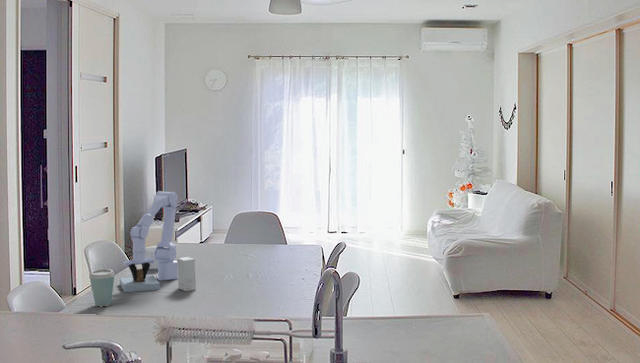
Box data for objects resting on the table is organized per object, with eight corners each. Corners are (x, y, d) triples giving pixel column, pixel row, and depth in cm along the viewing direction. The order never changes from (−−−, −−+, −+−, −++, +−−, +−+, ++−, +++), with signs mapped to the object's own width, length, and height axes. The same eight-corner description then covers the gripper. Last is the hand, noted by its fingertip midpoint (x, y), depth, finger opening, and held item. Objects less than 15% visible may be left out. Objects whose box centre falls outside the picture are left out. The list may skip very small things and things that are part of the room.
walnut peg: (141, 282, 327) (141, 268, 327) (144, 284, 324) (144, 269, 324) (133, 283, 325) (133, 269, 325) (136, 285, 322) (136, 270, 321)
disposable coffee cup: (112, 308, 287) (111, 273, 286) (86, 308, 286) (85, 273, 285) (117, 301, 298) (117, 268, 296) (92, 302, 297) (92, 268, 296)
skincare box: (196, 290, 320) (195, 259, 319) (183, 291, 317) (183, 260, 315) (189, 286, 327) (189, 256, 326) (177, 288, 324) (177, 257, 322)
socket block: (153, 281, 335) (153, 275, 335) (159, 289, 321) (159, 283, 320) (119, 284, 329) (119, 278, 328) (124, 292, 314) (124, 285, 314)
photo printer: (164, 267, 367) (164, 245, 366) (164, 269, 363) (164, 246, 361) (145, 268, 365) (145, 245, 364) (144, 269, 361) (144, 247, 360)
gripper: (150, 248, 331) (150, 275, 332) (121, 251, 322) (121, 279, 323) (156, 250, 325) (156, 278, 326) (126, 253, 316) (126, 282, 318)
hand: (139, 279), depth 324 cm, fingers closed on walnut peg, 4 cm apart
